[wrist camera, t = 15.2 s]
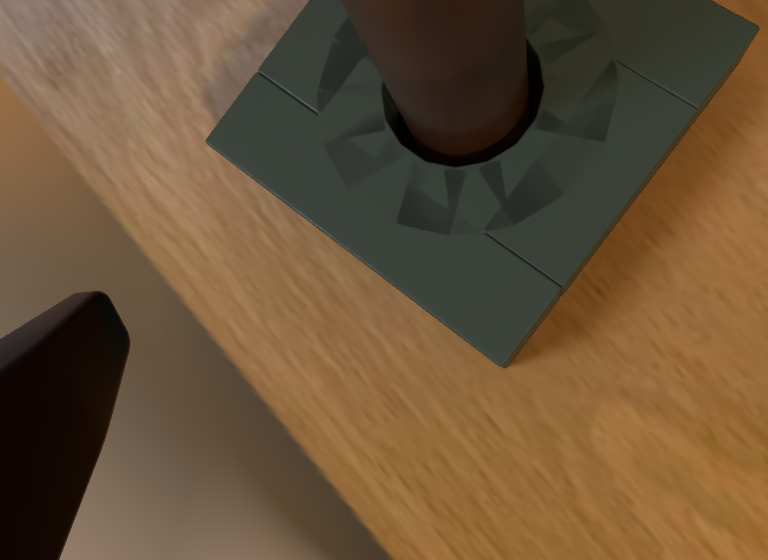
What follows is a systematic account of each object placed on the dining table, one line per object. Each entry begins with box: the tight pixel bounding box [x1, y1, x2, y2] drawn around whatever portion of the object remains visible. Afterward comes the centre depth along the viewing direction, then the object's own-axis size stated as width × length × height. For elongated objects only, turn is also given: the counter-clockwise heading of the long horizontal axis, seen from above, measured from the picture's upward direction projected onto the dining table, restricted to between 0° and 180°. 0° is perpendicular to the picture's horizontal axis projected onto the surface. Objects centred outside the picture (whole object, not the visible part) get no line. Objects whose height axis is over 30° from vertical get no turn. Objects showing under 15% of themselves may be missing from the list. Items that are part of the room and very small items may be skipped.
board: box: [206, 0, 759, 368], centre depth 23 cm, size 12×12×2 cm
